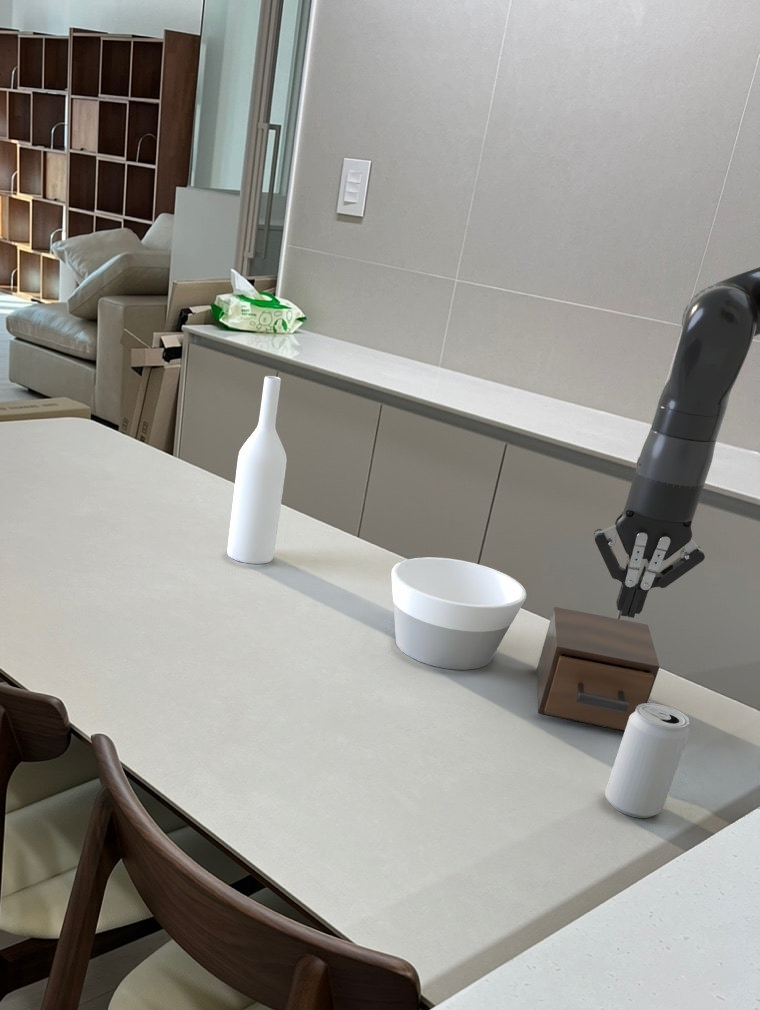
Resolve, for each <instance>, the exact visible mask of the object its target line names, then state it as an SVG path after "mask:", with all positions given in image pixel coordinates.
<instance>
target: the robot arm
mask: <svg viewBox="0 0 760 1010" xmlns="http://www.w3.org/2000/svg"><path fill="white" fill-rule="evenodd" d="M681 317H682V318H681V329H682V330H681V334H680V339H679V341H678V346H677V349H676V353H675V356H674V360H673V363H672V368H671V372H670V376H669V378H668V380H667V381H666V383H665V385H664V386H663V389H662V391H661V393H660V396H659V399H658V404H657V406H656V409H655V412H654V416H653V419H652V422H651V425H650V428H649V431H648V434H647V436H646V438H645V440H644V442H643V445H642V448H641V451H640V454H639V457H638V458H637V461H636V468H635V472H634V475H633V478H632V481H631V485H630V488H629V491H628V495H627V498H626V502H625V505H624V509H623V511H622V512H621V514H620V515H619V516H617V519H616V520H615V522H614V524H613V525H611V526H608V527H606V528H604V529H602V528H597V529H595V530H594V531H593V538H594V543H595V545H596V546H597V549H598V551H599V553H600V555H601V557H602V559H603V562H604V564H605V566H606V568H607V570H608V572H609V574H610V577H611V578H612V579H613V580H617V581H619V582H621V584H620V589H619V591H618V594H617V599H616V602H615V603H616V609H617V611H619V615H620V616H621V617H628V618H631V619H634V618H635V616H636V615H640V613H641V612H642V611H643V609H644V606H645V602H646V599H647V596H648V593H649V591H650V590H652V589H653V588H661V589H666V588H668V586H670V585H671V584H672V583H674V582H676V581H677V580H678V579H679V578H681V577H683V576H684V575H685V574H687V573H688V572H689V571H691V570H692V569H694V568H695V567H696V566H697V565H700V564H701V563H702V562H703V561H704V560H705V558H706V555H705V553H704V551H703V549H702V548H701V546H699V545H697V544H696V543H695V541H694V540H692V538H693V530H692V523H693V521H694V517H695V514H696V511H697V508H698V505H699V503H700V499H701V496H702V494H703V490H704V487H705V484H706V481H707V477H708V475H709V472H710V469H711V466H712V463H713V458H714V454H715V448H716V444H717V440H718V436H719V434H720V430H721V427H722V424H723V422H724V421H723V420H724V418H725V415H726V412H727V409H728V404H729V399H730V396H731V393H732V389H733V387H734V386H735V384H736V381H737V379H738V378H739V375H740V373H741V370H742V368H743V365H744V364H745V361H746V359H747V356H748V354H749V351H750V349H751V346H752V343H753V340H754V337H758V336H759V335H760V266H758V267H756V268H753V269H750V270H747V271H744V272H742V273H738V274H735V275H733V276H731V277H728V278H725V279H722V280H719V281H717V282H715V283H713V284H710V285H708V286H706V287H705V288H702V289H701V290H699V291H698V292H697V293H696V294H695V295H693V297H691V299H689V301H688V303H687V305H686V306H685V308H684V310H683V313H682V316H681ZM617 536H618V537H619V540H620V542H621V545H622V548H623V550H624V551H625V553H626V554H627V556H626V563H625V568H624V567H622V566H621V565H620V563H619V560H618V558H617V557H616V554H615V552H614V550H613V547H614V546H615V545H616V537H617ZM677 552H679V557H678V558H676V559H674V561H672V562H670V564H668V565H667V566H665V567H664V568H662V569H661V570H660V568H661V566H662V564H663V562H665V561H667V560H668V559H669V558H671V557H672V556H673V555H675V554H677ZM643 560H644V563H643V566H642V562H643ZM641 566H642V568H641ZM640 569H641V571H640ZM639 571H640V574H639ZM637 580H638V581H637Z"/></svg>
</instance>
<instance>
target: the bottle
mask: <svg viewBox="0 0 760 1010" xmlns="http://www.w3.org/2000/svg"><path fill="white" fill-rule="evenodd" d="M281 383H282V378H281V377H279V376H275V375H265V376H264V379H263V386H262V387H263V388H262V395H261V402H260V404H261V405H260V409H259V410H260V411H259V418H258V423H257V426H256V428H255V429H254V431H253V432H252V433H251V435H250V436H249V437H248V438H247V440H246V441H245V442H244V443H243V445H242V447H241V448H240V450H239V451H238V456H237V463H236V471H235V472H236V473H235V478H234V479H235V481H234V490H233V497H232V506H231V514H230V522H229V523H230V524H229V531H228V540H227V547H226V549H227V550H226V554H227V555H228V557H229V558H230V559H232V560H235V561H237V562H240V563H244V564H252V565H263V564H267V563H270V562H272V561H273V559H274V556H275V550H276V542H277V535H278V528H279V522H280V521H279V520H280V514H281V507H282V499H283V492H284V484H285V478H286V471H287V459H288V458H287V454H286V451H285V448H284V446H283V443H282V441H281V438H280V436H279V434H278V432H277V428H276V421H277V415H278V414H277V413H278V406H279V405H278V404H279V398H280V390H281Z"/></svg>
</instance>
